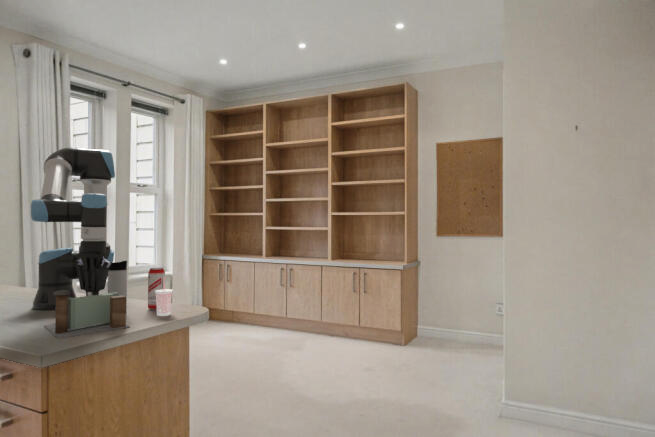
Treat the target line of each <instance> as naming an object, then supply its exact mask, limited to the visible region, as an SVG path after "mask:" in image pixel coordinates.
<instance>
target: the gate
mask: <svg viewBox="0 0 655 437" xmlns="http://www.w3.org/2000/svg"><path fill="white" fill-rule="evenodd" d="M114 296H119V293H116V292H111V293H108V292H107V293H101V294H100V293H99V295H92V296H86V295H85V296H78V297H77V296H76V298H68V329H70V330H72V329H75V328H79V327H85V326H90V325H96V324H101V323H107V322H110V297H114Z"/></svg>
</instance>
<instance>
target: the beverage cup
mask: <svg viewBox="0 0 655 437" xmlns="http://www.w3.org/2000/svg"><path fill="white" fill-rule="evenodd" d="M173 291H174V290H173V289H172V288H171V289H170V288H166V276H165V277H163V289H160V290H155V293H156V305H157V310H156V316H158V317H167V316H170V315H171V310H172V294H173Z"/></svg>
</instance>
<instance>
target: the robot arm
mask: <svg viewBox="0 0 655 437" xmlns="http://www.w3.org/2000/svg"><path fill="white" fill-rule="evenodd" d="M42 170H43V172H44V179H43V185H42V188H41V195H40V198H39V199H33V200H32V201H31V202H30V203H31V204H30V218H31V220H32V221H33V222H40V223H80V239H81V241H80V242H79V243H80V245H79V246H78V250H74V248H73V247H72V246H71V247H63V248H61V247H60V248H54V249H47V250H43V251H41V252H40V254H39V255H38V262H37V265H38V286H37V287H38V288H37V291H36V294H35V295H34V298H33V300H32V301H33V302H32V309H33V310H40V311H41V310H42V311H43V310H45V311H46V310H56V295H53V293H54V292H55V291H64V290H68V291H70V294H68V298H76V297H77V295H76V292H75V290H74V286H73V280H78V283H79V288H80V290H82V291H85V296H92V295H100V291H103V290H105V288H106V283H107V281H108V272H109V268H110V266H111V265H112V263H114V256H115V250H114V249H111V245H110V243H109V242H107V232H108V230H107V228H108V227H107V225H108V223H107V222H108V219H107V218H108V217H107V216H108V209H107V208H108V185H109V184H110V183H112V179H114V178H115V177H116V176H115V175H116V172H115V164H114V157H113V154H112V152H111V151H110V150H107V149H101V148H98V149H97V148H85V147H84V148H83V147H71V146H70V147H64V148H61V149H58V150H55V151H54V152H52V153H51V154H50V155H49V156H47V158H46V159H45V161H44V163H43V169H42ZM71 176H74V177H79V181H80V182H81V184H83V194H82V195H81V200H74V199H73V200H70V199H69V200H68V199H67V192H68V182H69V178H70V177H71Z"/></svg>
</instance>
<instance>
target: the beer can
mask: <svg viewBox="0 0 655 437" xmlns="http://www.w3.org/2000/svg"><path fill="white" fill-rule="evenodd" d="M163 277H165V278H166V271H165V270H164V267H151V268H150V267H149V271H148V272H147V309H148V310H150V311H157V305H156V293H155V290H160V289H163Z"/></svg>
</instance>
